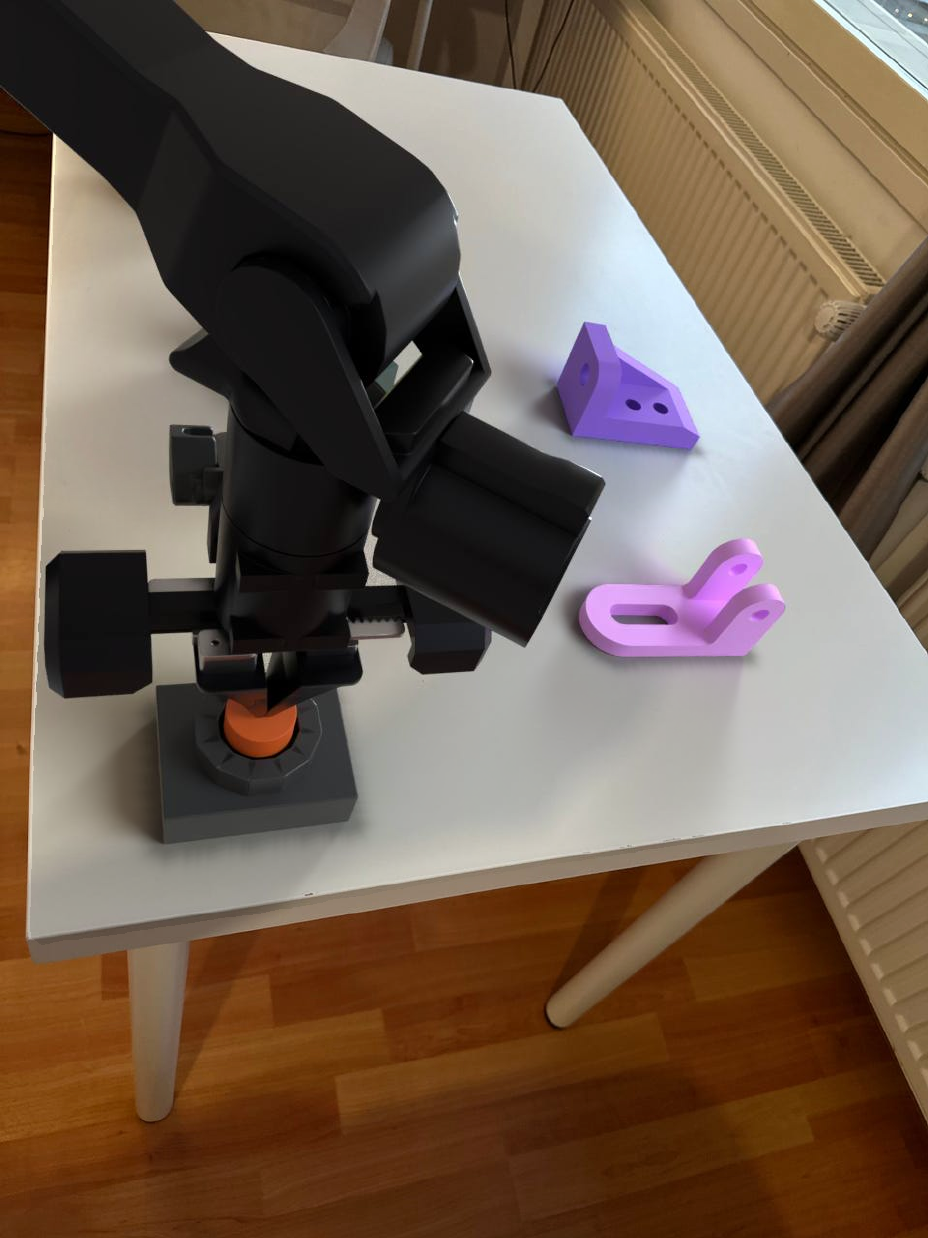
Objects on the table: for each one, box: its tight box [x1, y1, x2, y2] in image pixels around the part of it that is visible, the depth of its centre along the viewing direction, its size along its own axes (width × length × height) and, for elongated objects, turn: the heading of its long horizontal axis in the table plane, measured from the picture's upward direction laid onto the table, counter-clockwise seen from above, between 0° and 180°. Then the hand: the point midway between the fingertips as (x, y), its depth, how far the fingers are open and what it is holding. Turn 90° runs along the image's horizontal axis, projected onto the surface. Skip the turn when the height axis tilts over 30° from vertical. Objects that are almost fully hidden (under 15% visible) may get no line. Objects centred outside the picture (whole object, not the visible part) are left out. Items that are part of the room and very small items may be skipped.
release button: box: [224, 699, 297, 757], centre depth 46 cm, size 4×4×2 cm
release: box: [155, 671, 359, 845], centre depth 48 cm, size 10×8×5 cm
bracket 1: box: [556, 321, 701, 450], centre depth 78 cm, size 12×7×7 cm, turn 98°
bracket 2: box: [578, 538, 786, 658], centre depth 63 cm, size 13×6×7 cm, turn 101°
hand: (262, 709), depth 45 cm, fingers closed
